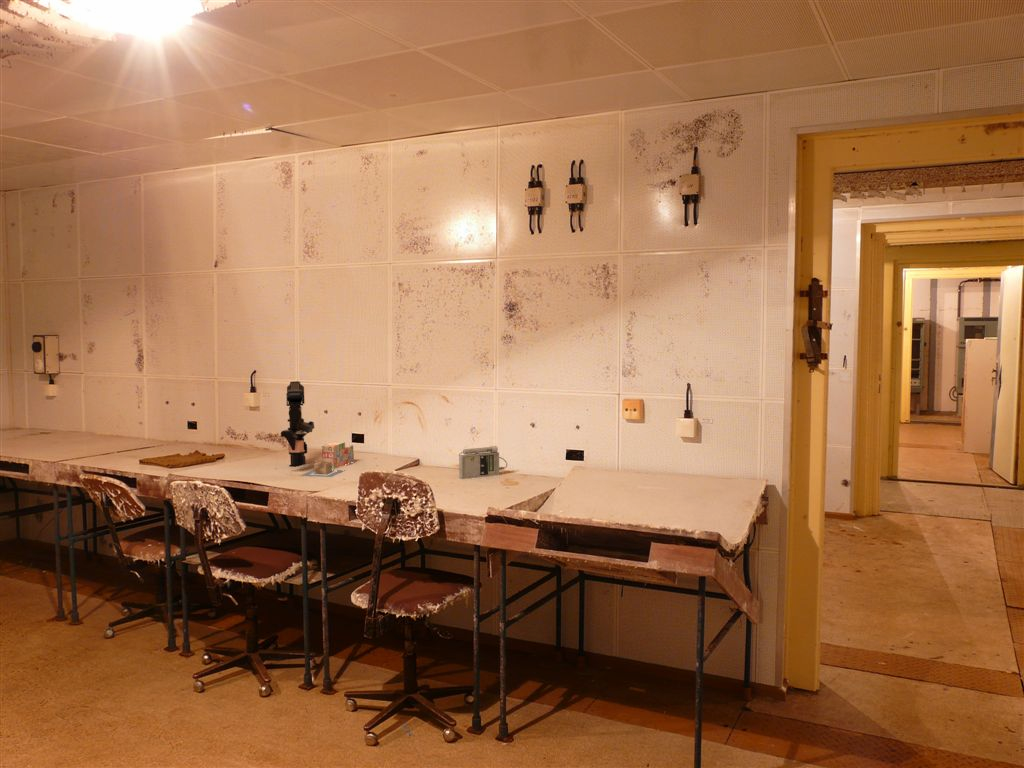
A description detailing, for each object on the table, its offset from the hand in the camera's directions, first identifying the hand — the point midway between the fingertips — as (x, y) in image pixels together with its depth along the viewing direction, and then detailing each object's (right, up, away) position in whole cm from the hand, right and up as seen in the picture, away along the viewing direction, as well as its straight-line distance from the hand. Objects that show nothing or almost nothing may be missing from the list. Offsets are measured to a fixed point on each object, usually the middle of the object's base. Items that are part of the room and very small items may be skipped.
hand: (296, 449), depth 379 cm
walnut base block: (+13, -11, 0) cm, 17 cm away
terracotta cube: (0, -1, 0) cm, 1 cm away
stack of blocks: (+16, -11, +21) cm, 28 cm away
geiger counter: (+90, -12, -5) cm, 91 cm away
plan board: (+13, -12, 0) cm, 18 cm away
